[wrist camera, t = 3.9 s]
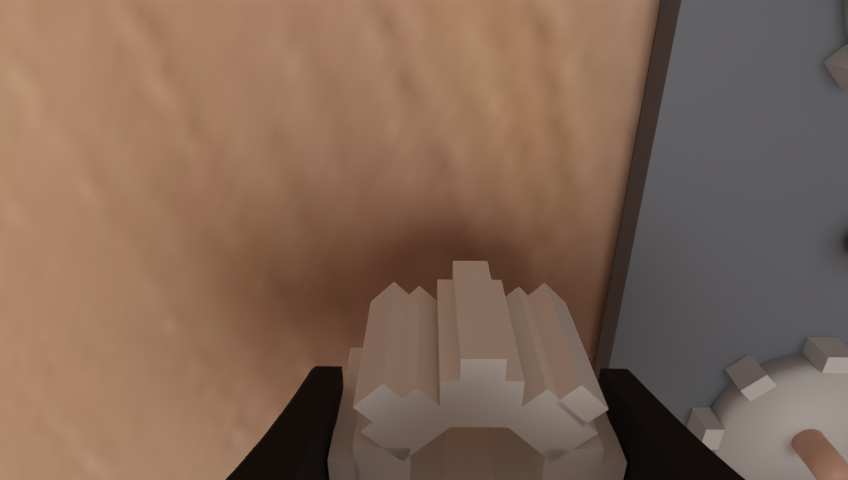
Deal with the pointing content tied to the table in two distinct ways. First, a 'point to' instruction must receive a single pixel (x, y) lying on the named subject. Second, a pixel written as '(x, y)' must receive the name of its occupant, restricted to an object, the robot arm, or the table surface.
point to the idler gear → (472, 389)
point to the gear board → (741, 234)
